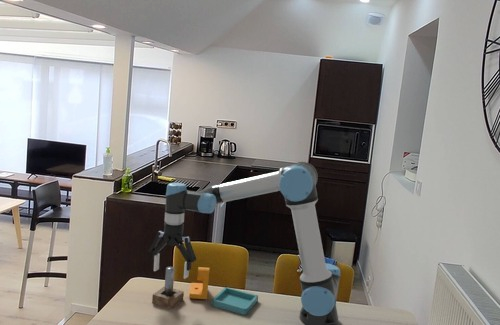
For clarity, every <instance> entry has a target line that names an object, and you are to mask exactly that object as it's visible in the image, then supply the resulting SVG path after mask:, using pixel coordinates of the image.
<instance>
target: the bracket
mask: <svg viewBox="0 0 500 325" xmlns="http://www.w3.org/2000/svg"><path fill="white" fill-rule="evenodd" d="M210 269H211V268H210V267H201V266H198V268H197V279H196V280H197V281H200V282H191V283H190V289H189V294H188V296H189V298H190V299H196V300H207V299H208V290H209V280H210V279H209V278H210ZM201 282H202V283H201Z"/></svg>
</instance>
